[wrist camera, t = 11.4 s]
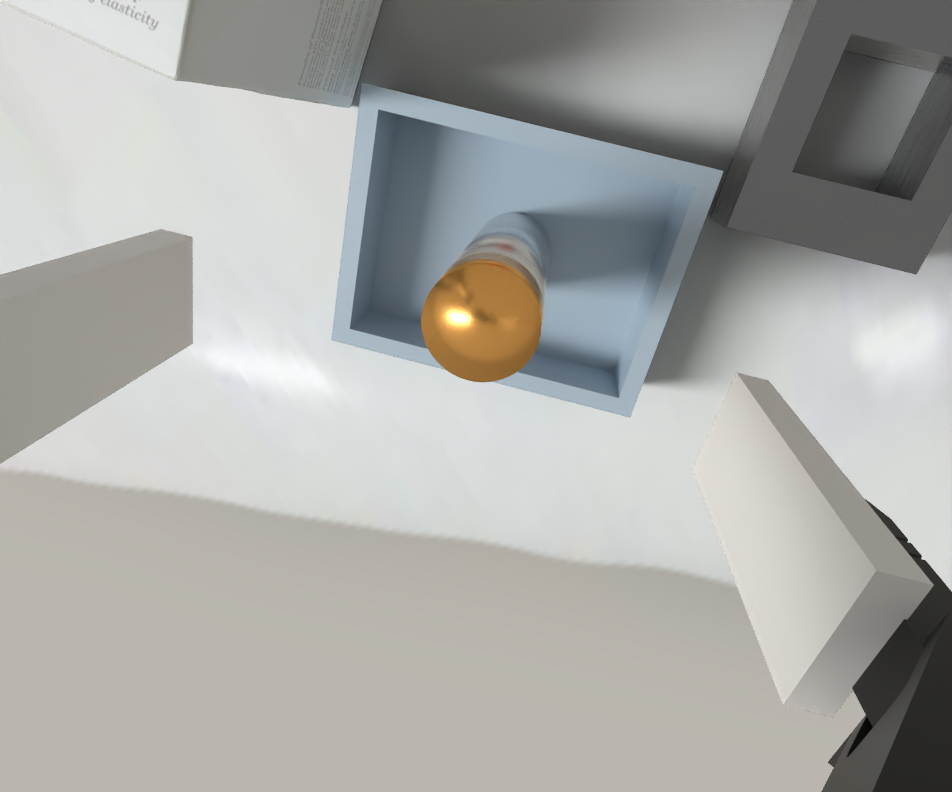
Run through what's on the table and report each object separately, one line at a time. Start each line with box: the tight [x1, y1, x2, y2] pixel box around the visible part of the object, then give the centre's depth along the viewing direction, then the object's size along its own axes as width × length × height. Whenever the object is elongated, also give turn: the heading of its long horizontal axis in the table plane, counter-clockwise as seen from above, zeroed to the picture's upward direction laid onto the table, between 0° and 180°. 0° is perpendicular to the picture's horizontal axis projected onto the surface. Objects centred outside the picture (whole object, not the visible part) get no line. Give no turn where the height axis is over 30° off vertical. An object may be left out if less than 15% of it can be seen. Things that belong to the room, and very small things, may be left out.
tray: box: [332, 83, 724, 417], centre depth 27 cm, size 15×11×4 cm
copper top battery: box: [421, 212, 550, 382], centre depth 23 cm, size 4×4×12 cm
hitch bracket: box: [711, 0, 952, 274], centre depth 24 cm, size 8×10×3 cm
